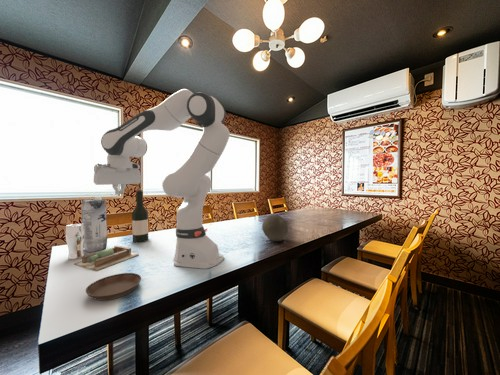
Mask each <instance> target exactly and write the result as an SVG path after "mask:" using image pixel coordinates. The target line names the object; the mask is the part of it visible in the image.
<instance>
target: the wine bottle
mask: <svg viewBox="0 0 500 375" xmlns="http://www.w3.org/2000/svg"><path fill="white" fill-rule="evenodd" d="M135 194H136V205H135V208H134V209H133V211H132V213H131V223H132V224H131V226H132V227H131V228H132V243H136V242H137V243H143V242H144V243H145V242H147V241H148V240H149V215H148V214H149V212H148V210H147V209H146V207H145V206H144V191H143V190H142V189H137V190H136V192H135Z"/></svg>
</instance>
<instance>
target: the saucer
mask: <svg viewBox="0 0 500 375" xmlns="http://www.w3.org/2000/svg"><path fill="white" fill-rule="evenodd" d="M141 280H142V277H141V275H140V274H137V273H133V272H124V273H118V274H117V273H116V274H112V275H109V276H105V277H103V278H100V279H98V280H95V281H93V282H92V283H90V284H89V285H88V286H87V287H86V289H85V294H86V295H87V296H89V297H90V298H92V299H94V300H98V301H109V300H115V299H118V298H120V297H121V298H122V297H124V296H127V294H129V293H131V292H132V291H133V290H135V289H136V287H137V286H139V284H140V282H141Z"/></svg>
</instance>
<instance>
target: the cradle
mask: <svg viewBox="0 0 500 375" xmlns="http://www.w3.org/2000/svg"><path fill="white" fill-rule="evenodd" d="M111 248H112V249H113V250H114V254H112V255H109V256H106V257H103V258H99V259H96V260H94V262H91V263H88V262H87V258H88V257H90V256H93V255H96V253H97V252H98V251H95V252H94V253H93V252H92V253H91V254H87V255H86V254H85V256H83V257H82V258H81V260H80V261H77V262H74V263H73V264H74V265H76V266H78V267H82V268H86V269H89V270H92V271H95V272H98V271H100V270H103V269H106V268H109V267H112V266H114V265H117V264H119V263H122V262H125V261H126V260H127V261H128V260H130V259H132V258H135V257H138V256H139V255H140V253H135V252H132V247H131V248H130V247H126V246H122V245H114V246H113V247H111Z"/></svg>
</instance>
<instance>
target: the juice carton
mask: <svg viewBox="0 0 500 375" xmlns="http://www.w3.org/2000/svg"><path fill="white" fill-rule="evenodd" d="M80 212H81V224H85V242H84V251H87V252H88V253H93V252H94V253H95V252H98V251H102V249H103V250H105V249H107V244H108V227H107V226H108V224H107V222H108V221H107V219H108V218H107V202H106V199H102V197H99V196H96V197H94V199H83V200H81V211H80Z"/></svg>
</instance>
